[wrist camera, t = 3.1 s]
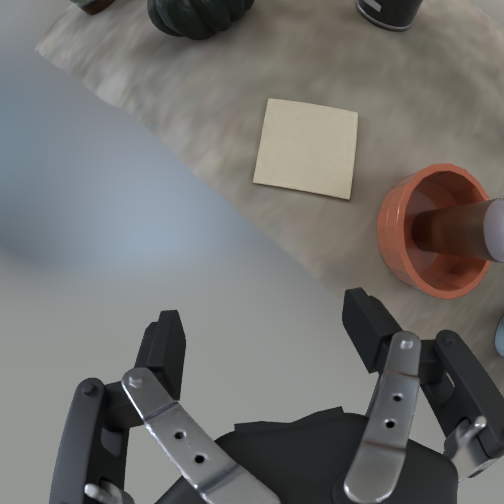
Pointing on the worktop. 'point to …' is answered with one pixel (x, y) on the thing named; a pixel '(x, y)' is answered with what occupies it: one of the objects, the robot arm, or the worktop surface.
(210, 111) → the worktop surface
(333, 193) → the cloth
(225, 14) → the squash
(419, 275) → the pot
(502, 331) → the blue embossed planter
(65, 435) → the robot arm
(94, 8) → the olive oil
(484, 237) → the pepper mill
